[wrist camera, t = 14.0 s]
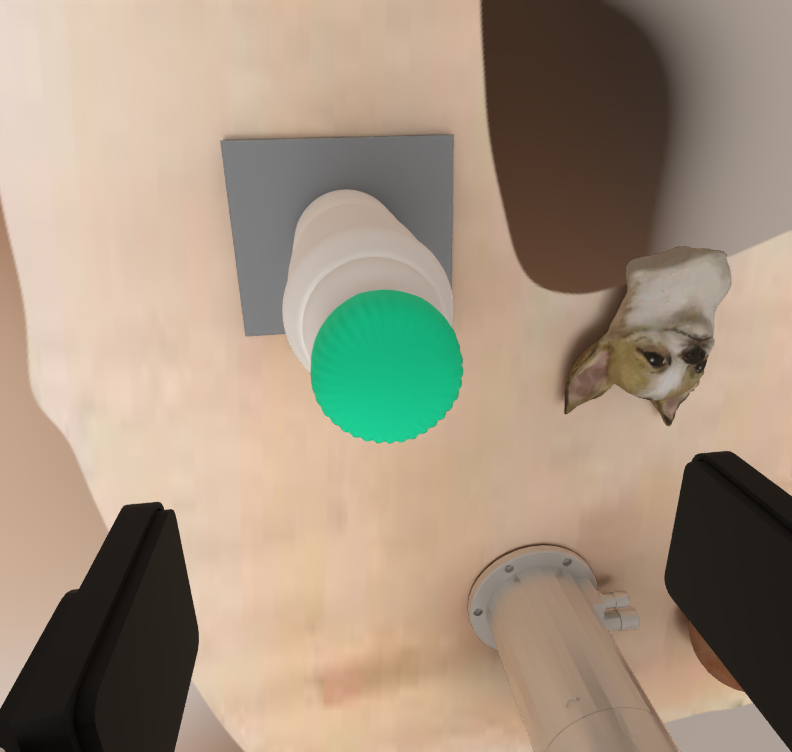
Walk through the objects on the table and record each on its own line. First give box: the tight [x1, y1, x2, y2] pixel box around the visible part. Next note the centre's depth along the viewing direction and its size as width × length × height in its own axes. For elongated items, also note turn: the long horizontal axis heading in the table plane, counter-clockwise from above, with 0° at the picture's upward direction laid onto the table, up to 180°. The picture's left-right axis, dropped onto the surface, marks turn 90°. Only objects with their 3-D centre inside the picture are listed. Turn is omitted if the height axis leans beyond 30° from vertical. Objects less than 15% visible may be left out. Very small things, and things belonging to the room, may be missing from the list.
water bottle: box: [282, 189, 463, 443], centre depth 29 cm, size 7×7×25 cm
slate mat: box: [220, 135, 454, 336], centre depth 41 cm, size 15×13×1 cm
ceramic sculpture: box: [564, 246, 731, 426], centre depth 43 cm, size 11×9×15 cm
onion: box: [689, 622, 744, 692], centre depth 56 cm, size 10×9×10 cm
